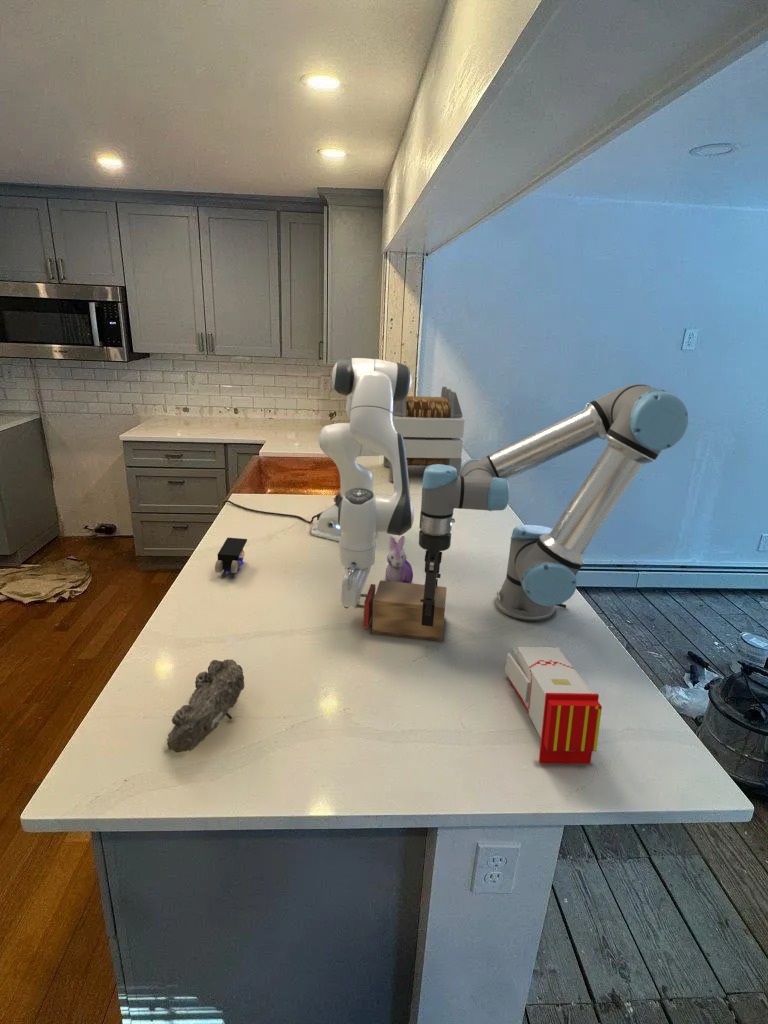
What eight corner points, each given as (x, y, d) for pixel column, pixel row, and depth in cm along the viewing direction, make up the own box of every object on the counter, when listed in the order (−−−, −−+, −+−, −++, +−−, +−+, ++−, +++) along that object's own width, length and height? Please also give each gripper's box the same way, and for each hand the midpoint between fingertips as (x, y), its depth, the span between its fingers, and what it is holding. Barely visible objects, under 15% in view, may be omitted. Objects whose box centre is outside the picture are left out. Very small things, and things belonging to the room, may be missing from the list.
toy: (554, 629, 125) (611, 701, 96) (548, 684, 128) (602, 772, 98) (500, 628, 125) (540, 700, 95) (495, 684, 127) (533, 771, 98)
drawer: (341, 624, 140) (342, 599, 137) (349, 605, 148) (350, 581, 146) (427, 634, 137) (429, 608, 135) (430, 614, 146) (432, 590, 143)
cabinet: (372, 633, 138) (373, 600, 135) (378, 611, 148) (380, 580, 145) (442, 641, 136) (445, 607, 133) (444, 618, 146) (446, 587, 143)
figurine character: (238, 584, 162) (249, 557, 175) (236, 562, 158) (247, 536, 172) (215, 584, 161) (227, 556, 175) (212, 561, 158) (225, 535, 171)
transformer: (382, 463, 289) (386, 382, 275) (445, 464, 293) (451, 384, 279) (390, 482, 257) (394, 392, 243) (460, 483, 261) (468, 394, 247)
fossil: (192, 660, 117) (244, 628, 112) (224, 691, 120) (276, 661, 115) (142, 746, 98) (202, 712, 93) (182, 779, 101) (242, 748, 96)
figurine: (391, 596, 156) (394, 546, 151) (375, 580, 164) (377, 533, 159) (421, 590, 160) (424, 541, 155) (403, 575, 169) (406, 528, 163)
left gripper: (362, 575, 128) (360, 628, 133) (376, 540, 147) (374, 588, 152) (334, 572, 129) (334, 625, 133) (352, 538, 148) (351, 585, 152)
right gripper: (449, 551, 122) (441, 640, 129) (453, 515, 143) (446, 592, 151) (414, 548, 122) (409, 636, 130) (423, 512, 144) (418, 589, 152)
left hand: (355, 605), depth 143 cm, fingers closed
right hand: (429, 613), depth 140 cm, fingers closed on cabinet, 11 cm apart
